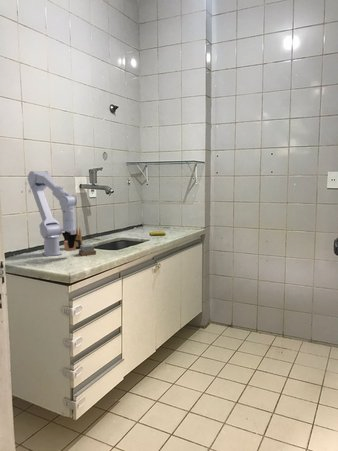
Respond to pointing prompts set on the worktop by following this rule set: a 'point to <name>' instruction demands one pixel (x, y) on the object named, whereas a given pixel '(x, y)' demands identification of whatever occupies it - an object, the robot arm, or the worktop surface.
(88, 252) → the walnut slab
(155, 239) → the worktop surface
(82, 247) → the grey slab
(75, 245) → the terracotta cube
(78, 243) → the ammunition clip
